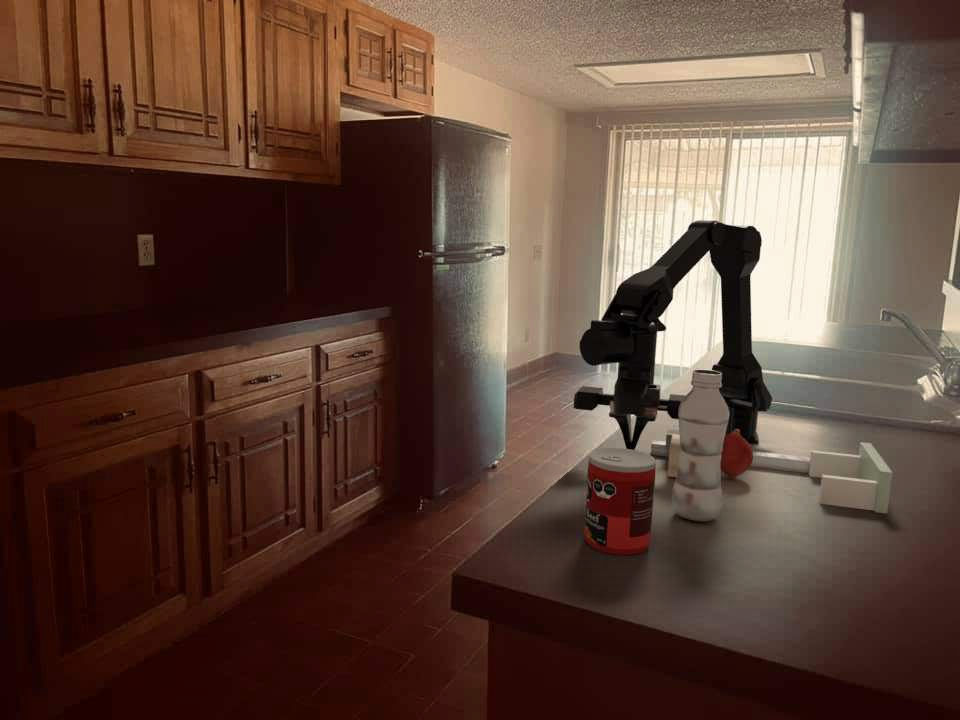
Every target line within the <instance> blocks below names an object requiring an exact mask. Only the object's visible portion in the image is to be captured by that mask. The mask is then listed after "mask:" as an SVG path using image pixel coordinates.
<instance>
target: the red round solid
mask: <svg viewBox="0 0 960 720" xmlns="http://www.w3.org/2000/svg"><path fill="white" fill-rule="evenodd" d="M753 451H754V450H753V448H752V446H751V444H750V442H747V441H746V440H745V439H744V438H743V437H742V436H741V435H740V430H739V429H735V430H734V431H733V432H731V433H730V434H728V435H726V436H725V437H724V441H723V448H722V453H721V473H724V475H726V476H727V477H728V478H729V479H735V478H737V477H738V476H740V475H742V474H743V473H745V472H746V471H747V470H749V468H751V467H750V465H751V464H752V461H753Z"/></svg>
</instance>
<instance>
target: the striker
mask: <svg viewBox="0 0 960 720" xmlns="http://www.w3.org/2000/svg"><path fill="white" fill-rule="evenodd" d="M665 441H666V447H665V448H666V449H670V453H669V457H668V468H667V477H670V478H671V477H672V478H676V476H677V469H678V463H679V453H680V431H679V426H678V427H677V426H670V425H668V427H667V431H666V435H665Z"/></svg>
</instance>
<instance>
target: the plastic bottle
mask: <svg viewBox="0 0 960 720" xmlns="http://www.w3.org/2000/svg"><path fill="white" fill-rule="evenodd" d="M721 379H722V373H721V372H718V371H713V370H712V369H703V368H702V369H693V370H692V378H691V380H690V385H691V386H692V389H691V390H690V391H689V392H688V393H687V394H686V396H685V397H684V399H683V400H682V401H681V403H680V406H679V408H678V416H679V419H678V427H679V431H680V453H679V463H678V469H677V476H676V477H675V481H674V483H673V487H672V491H671V492H672V493H671V504H672V505H671V506H672V508H673V510H674V512H675V513H676V514H677V515H678V516H679V517H681V518H684V519H686V520H690V521H694V522H711V521H713V520H715V519H717V517H718V516H719V515H720V514H721V509H722V507H723V491H722V486H721V485H722V483H721V482H722V481H721V479H722V478H721V473H722V471H721V453H722V448H723V441H724V437H725V433H726V428H727V424H728V420H729V410H728V406H727V404H726V402H725V400H724V399H723V397H722V396H721V394H720V392H719V388H721V387H722V383H721Z"/></svg>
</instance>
